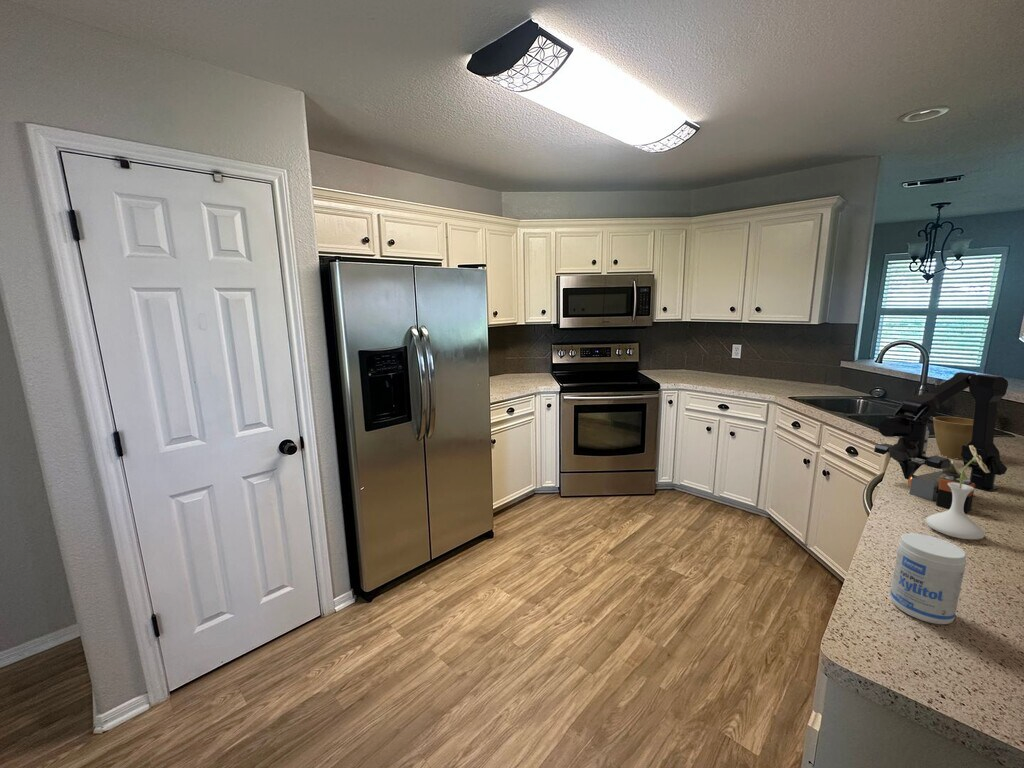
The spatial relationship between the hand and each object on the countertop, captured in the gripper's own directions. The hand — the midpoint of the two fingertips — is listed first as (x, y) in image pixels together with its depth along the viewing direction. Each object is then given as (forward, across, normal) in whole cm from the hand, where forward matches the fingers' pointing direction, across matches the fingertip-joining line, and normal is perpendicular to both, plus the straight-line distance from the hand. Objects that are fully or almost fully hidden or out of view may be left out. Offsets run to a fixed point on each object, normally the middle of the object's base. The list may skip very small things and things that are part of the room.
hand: (907, 479), depth 143 cm
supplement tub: (+4, +39, -69) cm, 79 cm away
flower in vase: (+4, +23, -22) cm, 32 cm away
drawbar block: (+4, +6, +5) cm, 8 cm away
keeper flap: (-5, +6, +10) cm, 12 cm away
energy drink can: (+4, -16, +37) cm, 41 cm away
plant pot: (+4, -14, +59) cm, 61 cm away
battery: (+4, +14, -4) cm, 15 cm away
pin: (+2, +9, 0) cm, 9 cm away
